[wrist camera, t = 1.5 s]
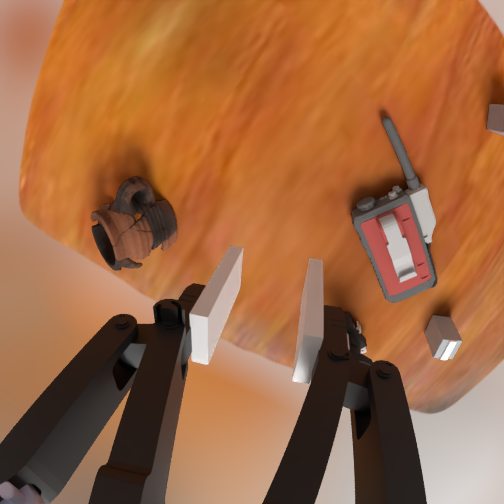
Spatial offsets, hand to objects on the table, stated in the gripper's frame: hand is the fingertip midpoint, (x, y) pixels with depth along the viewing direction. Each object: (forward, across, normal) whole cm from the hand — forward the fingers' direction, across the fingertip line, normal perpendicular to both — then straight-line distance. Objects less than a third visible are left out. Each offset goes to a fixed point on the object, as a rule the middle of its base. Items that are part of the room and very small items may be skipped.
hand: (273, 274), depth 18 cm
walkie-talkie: (+17, +11, 0) cm, 20 cm away
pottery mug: (+17, -18, -4) cm, 25 cm away
